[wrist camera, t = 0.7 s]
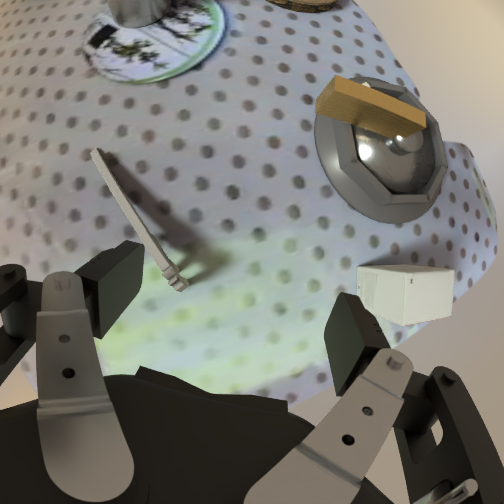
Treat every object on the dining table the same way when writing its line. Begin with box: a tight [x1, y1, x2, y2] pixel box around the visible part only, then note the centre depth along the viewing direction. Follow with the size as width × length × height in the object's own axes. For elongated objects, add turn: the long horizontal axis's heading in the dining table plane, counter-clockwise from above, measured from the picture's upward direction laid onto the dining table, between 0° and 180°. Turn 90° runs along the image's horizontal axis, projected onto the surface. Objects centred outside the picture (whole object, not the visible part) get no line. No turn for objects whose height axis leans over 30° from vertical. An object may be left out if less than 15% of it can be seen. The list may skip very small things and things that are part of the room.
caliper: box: [90, 148, 190, 292], centre depth 29 cm, size 20×1×6 cm, turn 37°
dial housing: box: [314, 77, 448, 224], centre depth 35 cm, size 22×22×4 cm
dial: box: [315, 75, 434, 194], centre depth 31 cm, size 20×14×9 cm
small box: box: [357, 264, 455, 326], centre depth 32 cm, size 8×6×10 cm
